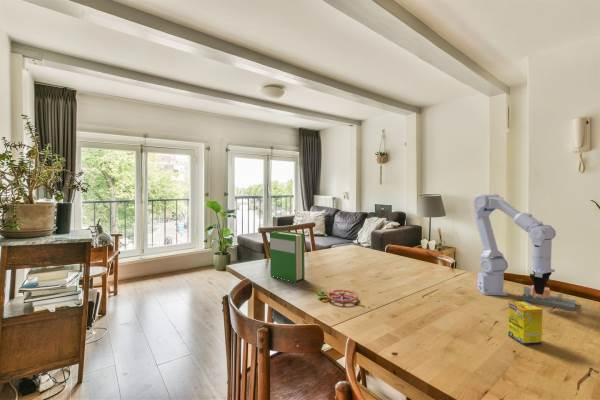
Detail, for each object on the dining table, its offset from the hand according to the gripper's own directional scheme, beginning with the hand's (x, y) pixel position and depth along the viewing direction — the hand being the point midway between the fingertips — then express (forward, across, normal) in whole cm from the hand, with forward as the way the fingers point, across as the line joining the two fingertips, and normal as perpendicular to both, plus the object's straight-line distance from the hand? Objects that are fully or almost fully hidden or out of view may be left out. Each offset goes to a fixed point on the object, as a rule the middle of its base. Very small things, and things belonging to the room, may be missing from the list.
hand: (540, 291), depth 113 cm
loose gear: (+1, 0, 0) cm, 1 cm away
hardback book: (+7, -41, +100) cm, 108 cm away
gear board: (+7, +11, -2) cm, 13 cm away
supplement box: (+7, -33, +1) cm, 34 cm away
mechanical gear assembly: (+8, -45, +65) cm, 79 cm away
